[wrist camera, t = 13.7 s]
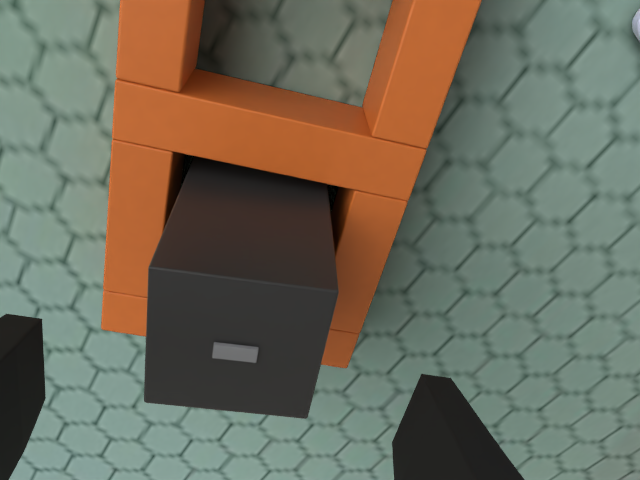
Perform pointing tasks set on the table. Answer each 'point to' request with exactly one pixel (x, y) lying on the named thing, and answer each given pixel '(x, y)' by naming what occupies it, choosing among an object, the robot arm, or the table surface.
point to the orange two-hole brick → (272, 144)
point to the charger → (241, 292)
